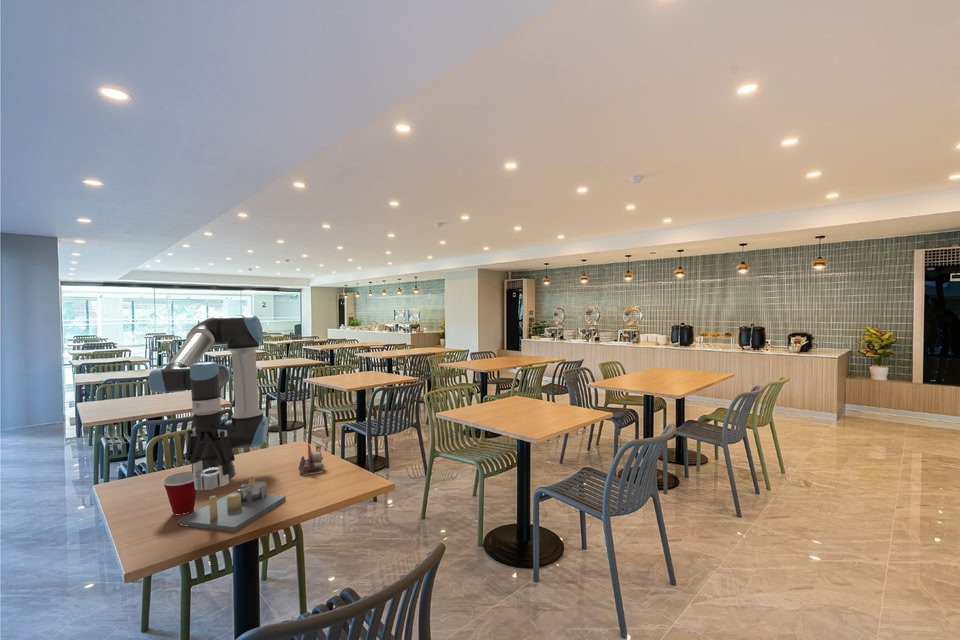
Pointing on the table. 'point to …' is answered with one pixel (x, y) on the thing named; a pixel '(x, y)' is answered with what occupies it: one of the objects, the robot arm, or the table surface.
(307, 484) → the table surface
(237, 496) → the plate
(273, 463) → the table surface
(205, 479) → the planet gear
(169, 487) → the plastic cup
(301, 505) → the table surface
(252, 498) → the seated gear
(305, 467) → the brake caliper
